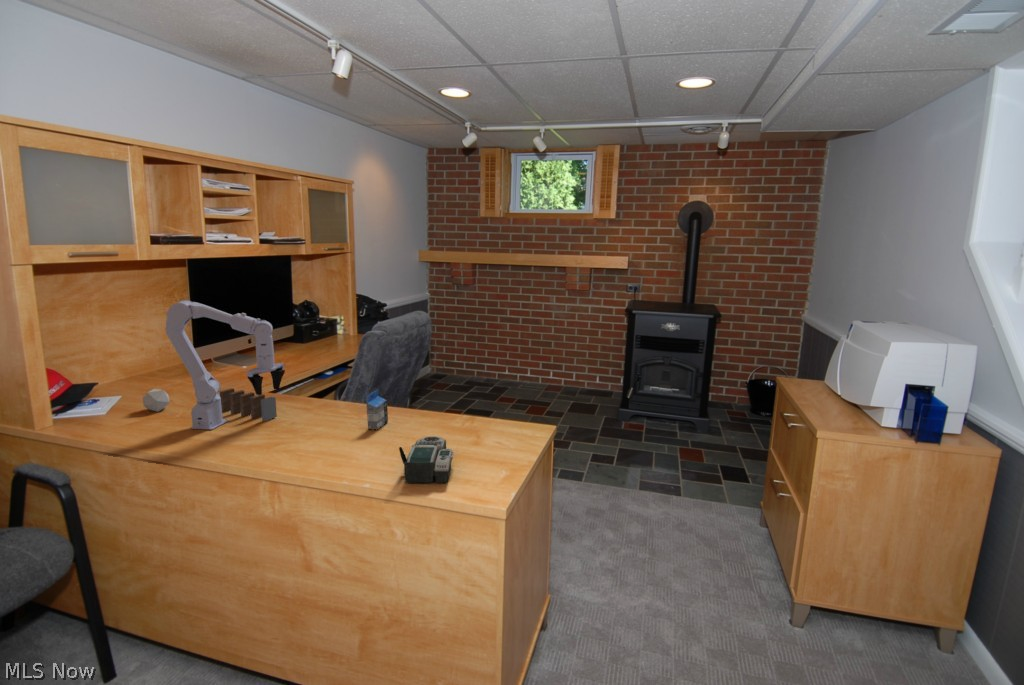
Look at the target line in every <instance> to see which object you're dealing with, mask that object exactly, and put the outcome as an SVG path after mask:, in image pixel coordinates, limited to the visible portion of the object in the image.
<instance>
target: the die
mask: <svg viewBox="0 0 1024 685" xmlns="http://www.w3.org/2000/svg"><path fill="white" fill-rule="evenodd" d="M170 403H171V401H170V396H169V394H168V393H167V392H166V391H165V390H163V389H158V388H153V389H151V390H150V391H147V392H146V393H145V395H143V396H142V404H143V407H144V408H146V409H147V410H149V411H153V412H160V411H161V410H164V409H165V408H166V407H167V406H168V405H169V404H170Z"/></svg>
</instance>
